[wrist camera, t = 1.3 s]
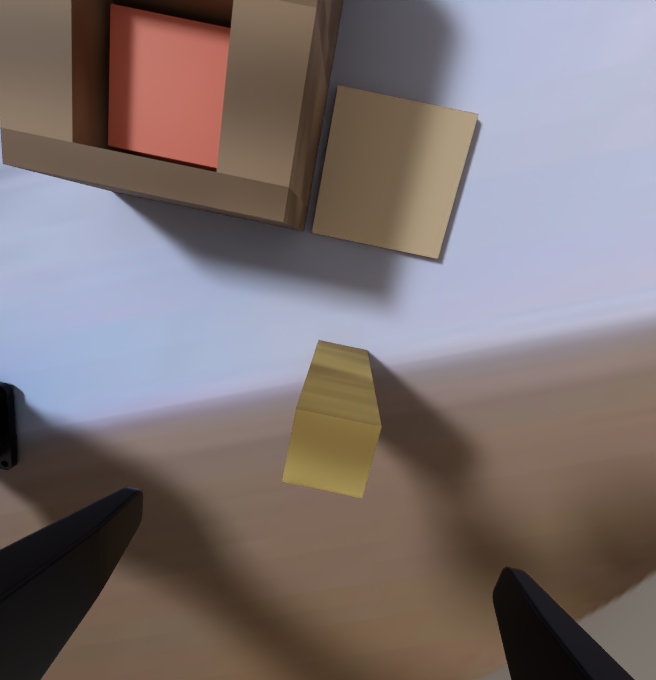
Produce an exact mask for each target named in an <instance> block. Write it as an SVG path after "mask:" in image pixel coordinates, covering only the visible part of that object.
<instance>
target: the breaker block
mask: <svg viewBox="0 0 656 680" xmlns="http://www.w3.org/2000/svg"><path fill="white" fill-rule="evenodd" d="M111 4H115V5H120V6H125V7H130V8H135V9H139V10H144V11H149V12H154V13H159V14H164V15H169V16H174V17H179V18H183V19H188V20H193V21H198V22H203V23H208V24H213V25H218V26H222V27H227V28H231V30H230V40H229V51H228V61H227V71H226V81H225V91H224V101H223V111H222V121H221V132H220V142H219V152H218V162H217V172H213V171H208V170H204V169H199V168H194V167H189V166H184V165H179V164H175V163H170V162H165V161H160V160H155V159H151V158H146V157H141V156H136V155H131V154H126V153H124V152H122V151H120V150H117V149H115V148H113V147H110V146H108V120H109V63H110V5H111ZM342 5H343V0H0V125H1V142H2V158H3V164H6V165H10V166H14V167H18V168H21V169H25V170H29V171H33V172H37V173H41V174H45V175H49V176H53V177H57V178H61V179H65V180H69V181H73V182H77V183H81V184H85V185H89V186H93V187H97V188H101V189H105V190H109V191H113V192H118V193H123V194H127V195H132V196H137V197H142V198H147V199H151V200H156V201H161V202H166V203H171V204H175V205H180V206H185V207H190V208H195V209H200V210H204V211H209V212H214V213H219V214H224V215H228V216H233V217H238V218H243V219H248V220H252V221H257V222H262V223H267V224H272V225H277V226H281V227H286V228H291V229H296V230H301V231H304V227H305V221H306V215H307V210H308V204H309V198H310V192H311V186H312V180H313V175H314V169H315V163H316V157H317V151H318V145H319V140H320V134H321V128H322V122H323V116H324V110H325V105H326V99H327V93H328V87H329V81H330V75H331V70H332V64H333V58H334V52H335V46H336V40H337V35H338V29H339V23H340V17H341V11H342Z"/></svg>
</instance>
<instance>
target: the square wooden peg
mask: <svg viewBox="0 0 656 680" xmlns="http://www.w3.org/2000/svg"><path fill="white" fill-rule="evenodd" d="M381 427H382V426H381V420H380V415H379V410H378V405H377V399H376V394H375V389H374V384H373V378H372V373H371V368H370V362H369V357H368V352H367V350H363V349H359V348H354V347H349V346H344V345H340V344H335V343H330V342H325V341H320V340H319V341H318V344H317V347H316V350H315V353H314V356H313V359H312V362H311V365H310V368H309V371H308V374H307V377H306V380H305V383H304V386H303V389H302V392H301V395H300V398H299V401H298V404H297V407H296V412H295V417H294V422H293V427H292V432H291V438H290V443H289V448H288V453H287V459H286V464H285V469H284V474H283V479H282V481H284V482H288V483H293V484H298V485H302V486H307V487H312V488H317V489H321V490H326V491H331V492H336V493H340V494H345V495H350V496H355V497H359V498H362V497H363V493H364V489H365V486H366V482H367V478H368V475H369V471H370V468H371V464H372V460H373V457H374V453H375V449H376V446H377V442H378V438H379V435H380V431H381Z"/></svg>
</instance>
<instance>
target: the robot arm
mask: <svg viewBox="0 0 656 680" xmlns="http://www.w3.org/2000/svg"><path fill="white" fill-rule="evenodd" d="M16 464H17V450H16V434H15V419H14V403H13V391H12V388H11V387H10V386H9V385H8V384H6V383H1V382H0V469H4V470H9V469H11V468H12V467H14V466H15V465H16ZM142 510H143V491H142V490H140V489H136V488H131V487H124V488H121V489H119V490H117V491H115V492H113V493H111V494H109V495H107V496H106V497H104V498H102V499H100V500H98V501H96V502H94V503H92V504H90V505H88V506H86V507H84V508H82V509H80V510H78V511H76V512H74V513H72V514H70V515H68V516H66V517H64V518H62V519H60V520H58V521H56V522H54V523H52V524H50V525H48V526H46V527H44V528H42V529H40V530H38V531H36V532H34V533H32V534H30V535H28V536H26V537H24V538H22V539H20V540H18V541H17V542H15V543H13V544H11V545H9V546H7V547H5V548H3V549H1V550H0V680H41V678H42V677H43V675H44V674H45V673H46V671H47V670H48V668H49V667H50V665H51V664H52V663H53V661H54V660H55V658H56V657H57V655H58V654H59V652H60V651H61V650H62V648H63V647H64V645H65V644H66V642H67V641H68V640H69V638H70V637H71V635H72V634H73V632H74V631H75V629H76V628H77V627H78V625H79V624H80V622H81V621H82V619H83V618H84V616H85V615H86V614H87V612H88V611H89V609H90V608H91V606H92V605H93V603H94V602H95V600H96V599H97V597H98V596H99V594H100V593H101V591H102V589H103V588H104V586H105V584H106V583H107V581H108V579H109V577H110V576H111V574H112V572H113V570H114V569H115V567H116V565H117V564H118V562H119V560H120V558H121V557H122V555H123V553H124V551H125V550H126V548H127V546H128V544H129V543H130V541H131V539H132V537H133V536H134V534H135V532H136V531H137V529H138V527H139V525H140V522H141V519H142ZM493 604H494V608H495V613H496V617H497V621H498V625H499V630H500V634H501V638H502V643H503V647H504V651H505V655H506V660H507V664H508V668H509V672H510V676H511V680H634V679H633V678H632V677H631V676H630V675H629V674H628V673H627V672H626V671H625V670H624V669H623V668H622V667H621V666H620V665H619V664H618V663H617V662H616V661H615V660H614V659H613V658H612V657H611V656H610V655H609V654H608V653H607V652H606V651H605V650H604V649H603V648H602V647H601V646H600V645H599V644H598V643H597V642H596V641H595V640H594V639H592V637H591V636H590V635H589V634H587V632H585V631H584V629H583V628H581V627H580V626H579V625H578V624H577V623H576V622H575V621H574V620H573V619H572V618H571V617H570V616H569V615H568V614H567V613H566V612H565V611H564V610H563V609H562V608H561V607H560V606H559V605H558V604H557V603H556V602H555V601H554V600H553V599H552V598H551V597H550V596H549V595H548V594H547V593H546V592H545V591H544V590H543V589H542V588H541V587H540V586H539V585H538V584H537V583H536V582H535V581H534V580H533V579H532V578H531V577H530V576H529V575H528V574H527V573H525V572H524V571H523V570H520V569H516V568H511V567H505V568H504V569H503V570H502V572H501V574H500V576H499V579H498V581H497V583H496V585H495V588H494V590H493Z"/></svg>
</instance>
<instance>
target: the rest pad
mask: <svg viewBox="0 0 656 680" xmlns="http://www.w3.org/2000/svg"><path fill="white" fill-rule="evenodd" d="M477 118H478V114H477V113H472V112H467V111H462V110H457V109H452V108H447V107H443V106H438V105H433V104H428V103H423V102H418V101H413V100H409V99H404V98H399V97H394V96H389V95H384V94H379V93H374V92H370V91H365V90H360V89H355V88H350V87H345V86H340V85H338V88H337V94H336V100H335V105H334V111H333V116H332V122H331V128H330V133H329V139H328V144H327V150H326V156H325V161H324V167H323V173H322V178H321V184H320V189H319V195H318V201H317V206H316V212H315V218H314V223H313V229H312V233H315V234H320V235H325V236H329V237H334V238H339V239H344V240H349V241H354V242H358V243H363V244H368V245H373V246H378V247H382V248H387V249H392V250H397V251H402V252H406V253H411V254H416V255H421V256H426V257H431V258H435V259H438V256H439V253H440V249H441V245H442V242H443V238H444V235H445V231H446V228H447V224H448V221H449V217H450V214H451V210H452V206H453V203H454V199H455V196H456V192H457V189H458V185H459V182H460V178H461V175H462V171H463V167H464V164H465V160H466V157H467V153H468V150H469V146H470V143H471V139H472V136H473V132H474V128H475V125H476V121H477Z"/></svg>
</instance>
